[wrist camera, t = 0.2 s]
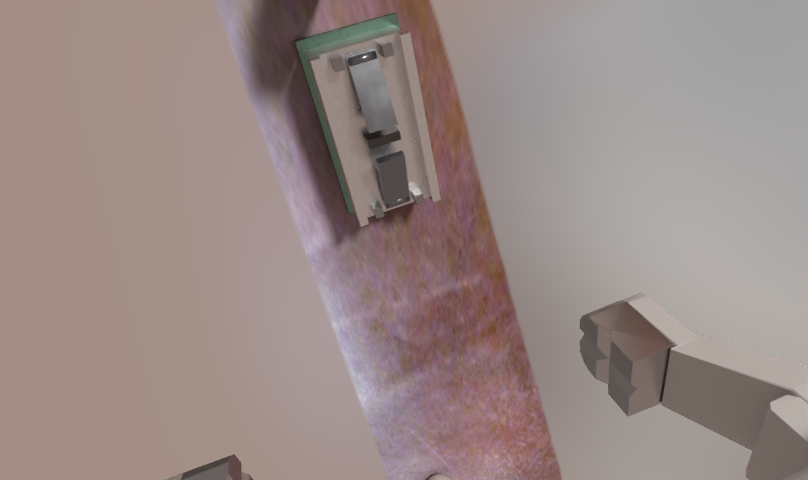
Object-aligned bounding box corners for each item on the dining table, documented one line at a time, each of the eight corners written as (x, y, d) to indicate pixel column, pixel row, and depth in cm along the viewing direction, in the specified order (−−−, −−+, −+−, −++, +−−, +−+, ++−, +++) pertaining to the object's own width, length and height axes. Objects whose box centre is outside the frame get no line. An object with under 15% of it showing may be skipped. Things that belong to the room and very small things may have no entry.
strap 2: (407, 196, 58) (410, 202, 57) (384, 204, 57) (386, 210, 57) (402, 150, 52) (405, 156, 51) (375, 158, 51) (378, 165, 51)
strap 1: (345, 58, 48) (346, 57, 47) (374, 50, 48) (376, 48, 47) (369, 133, 50) (370, 133, 49) (396, 124, 50) (398, 124, 49)
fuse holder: (294, 40, 50) (302, 52, 45) (395, 12, 51) (414, 20, 46) (348, 211, 62) (359, 237, 56) (428, 184, 63) (447, 207, 58)
